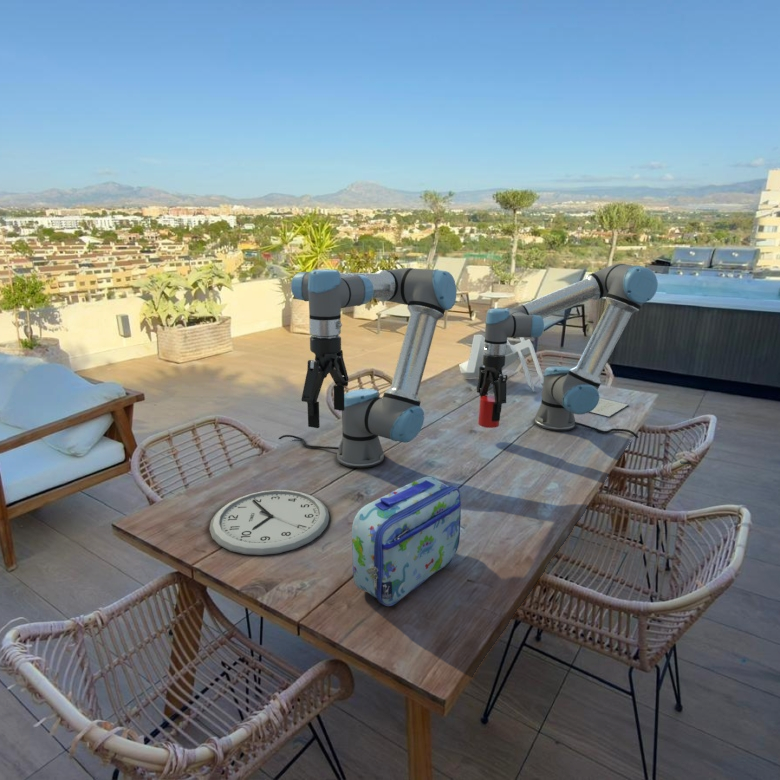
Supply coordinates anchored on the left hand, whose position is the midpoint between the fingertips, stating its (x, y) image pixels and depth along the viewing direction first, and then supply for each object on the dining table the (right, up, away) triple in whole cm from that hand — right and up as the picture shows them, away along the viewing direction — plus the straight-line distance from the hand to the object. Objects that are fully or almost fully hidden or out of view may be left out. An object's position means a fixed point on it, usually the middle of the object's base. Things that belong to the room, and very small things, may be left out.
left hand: (327, 418), depth 132 cm
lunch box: (+20, -34, -19) cm, 43 cm away
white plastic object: (+69, +9, +122) cm, 140 cm away
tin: (+51, -5, +55) cm, 75 cm away
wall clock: (-15, -27, +2) cm, 31 cm away
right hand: (+51, -2, +54) cm, 74 cm away
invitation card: (+107, 0, +94) cm, 143 cm away
